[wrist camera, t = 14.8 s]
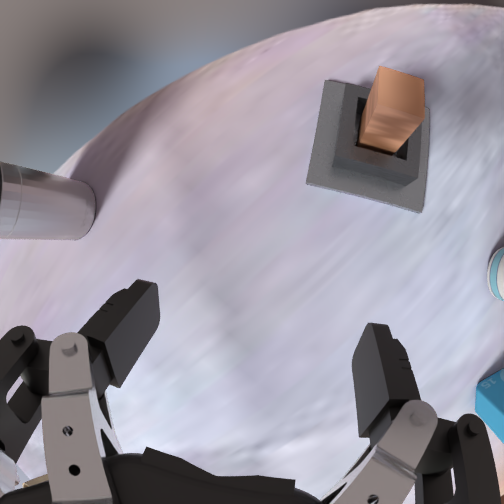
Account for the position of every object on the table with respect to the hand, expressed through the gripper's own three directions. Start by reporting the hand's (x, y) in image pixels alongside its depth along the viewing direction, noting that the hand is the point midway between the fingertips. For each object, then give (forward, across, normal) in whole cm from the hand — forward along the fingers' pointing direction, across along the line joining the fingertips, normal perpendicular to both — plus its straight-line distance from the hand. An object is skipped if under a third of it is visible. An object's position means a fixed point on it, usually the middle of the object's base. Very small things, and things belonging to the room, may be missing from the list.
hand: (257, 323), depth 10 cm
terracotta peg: (+26, -9, -7) cm, 28 cm away
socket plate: (+26, -9, -7) cm, 29 cm away
